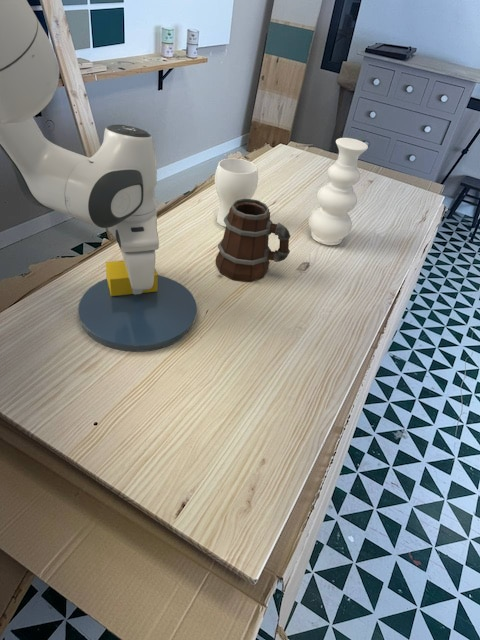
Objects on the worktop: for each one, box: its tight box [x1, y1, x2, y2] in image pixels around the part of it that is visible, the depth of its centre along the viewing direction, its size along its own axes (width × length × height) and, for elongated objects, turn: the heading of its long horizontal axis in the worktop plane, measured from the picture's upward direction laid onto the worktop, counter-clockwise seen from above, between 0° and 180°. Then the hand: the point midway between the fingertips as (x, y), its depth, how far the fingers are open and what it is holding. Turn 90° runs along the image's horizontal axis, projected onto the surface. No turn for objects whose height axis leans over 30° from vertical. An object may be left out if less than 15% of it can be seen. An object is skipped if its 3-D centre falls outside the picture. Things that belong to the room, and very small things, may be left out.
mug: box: [215, 198, 291, 283], centre depth 101 cm, size 16×12×15 cm
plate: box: [77, 274, 198, 352], centre depth 89 cm, size 22×22×2 cm
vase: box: [308, 137, 369, 246], centre depth 113 cm, size 11×11×25 cm
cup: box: [214, 157, 259, 228], centre depth 117 cm, size 11×11×15 cm
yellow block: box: [105, 260, 159, 296], centre depth 92 cm, size 9×6×4 cm, turn 110°
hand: (133, 281), depth 93 cm, fingers closed on yellow block, 6 cm apart
